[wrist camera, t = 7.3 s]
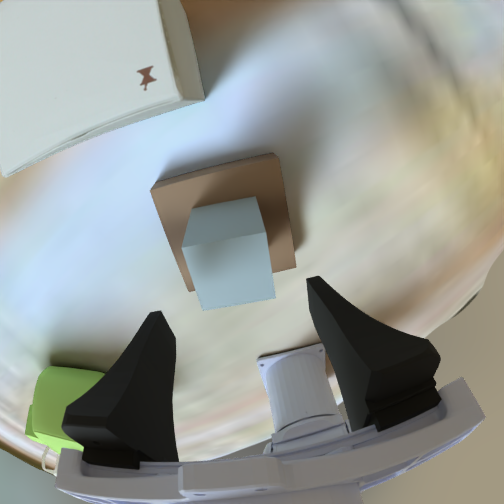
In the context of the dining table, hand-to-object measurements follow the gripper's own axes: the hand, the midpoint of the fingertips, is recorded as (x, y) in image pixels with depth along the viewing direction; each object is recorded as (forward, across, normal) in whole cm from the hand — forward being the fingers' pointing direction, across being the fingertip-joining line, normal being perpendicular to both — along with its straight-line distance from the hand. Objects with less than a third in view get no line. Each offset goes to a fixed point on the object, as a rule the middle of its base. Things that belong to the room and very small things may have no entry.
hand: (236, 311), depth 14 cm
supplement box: (+11, +3, -13) cm, 17 cm away
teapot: (+11, +26, +22) cm, 36 cm away
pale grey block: (+8, 0, 0) cm, 8 cm away
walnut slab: (+11, 0, 0) cm, 11 cm away
